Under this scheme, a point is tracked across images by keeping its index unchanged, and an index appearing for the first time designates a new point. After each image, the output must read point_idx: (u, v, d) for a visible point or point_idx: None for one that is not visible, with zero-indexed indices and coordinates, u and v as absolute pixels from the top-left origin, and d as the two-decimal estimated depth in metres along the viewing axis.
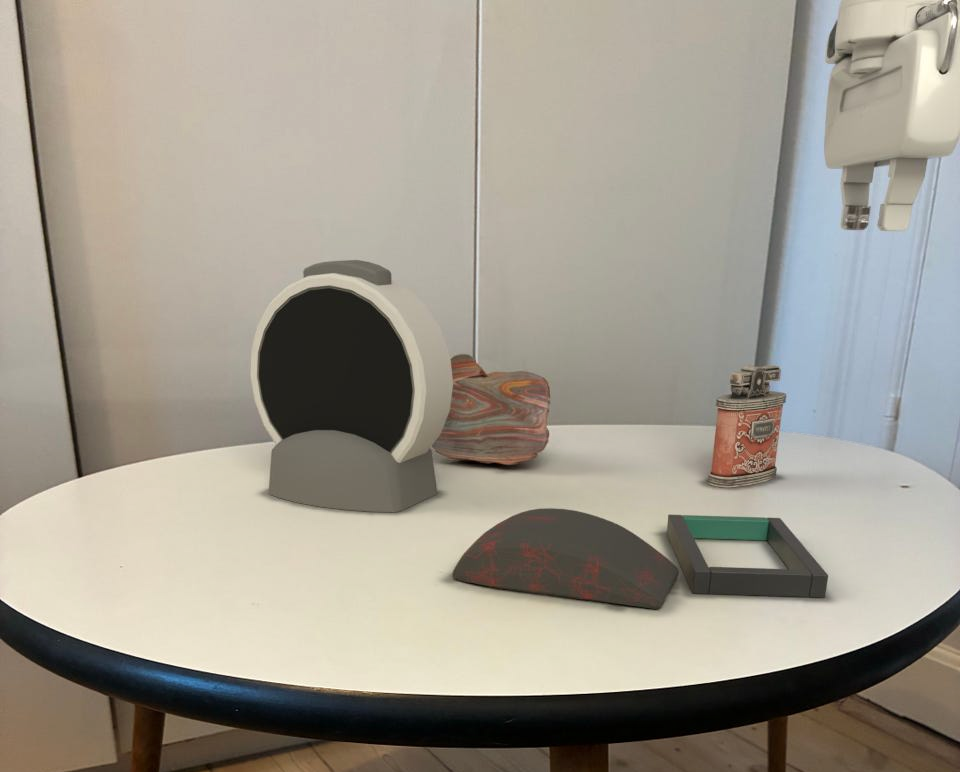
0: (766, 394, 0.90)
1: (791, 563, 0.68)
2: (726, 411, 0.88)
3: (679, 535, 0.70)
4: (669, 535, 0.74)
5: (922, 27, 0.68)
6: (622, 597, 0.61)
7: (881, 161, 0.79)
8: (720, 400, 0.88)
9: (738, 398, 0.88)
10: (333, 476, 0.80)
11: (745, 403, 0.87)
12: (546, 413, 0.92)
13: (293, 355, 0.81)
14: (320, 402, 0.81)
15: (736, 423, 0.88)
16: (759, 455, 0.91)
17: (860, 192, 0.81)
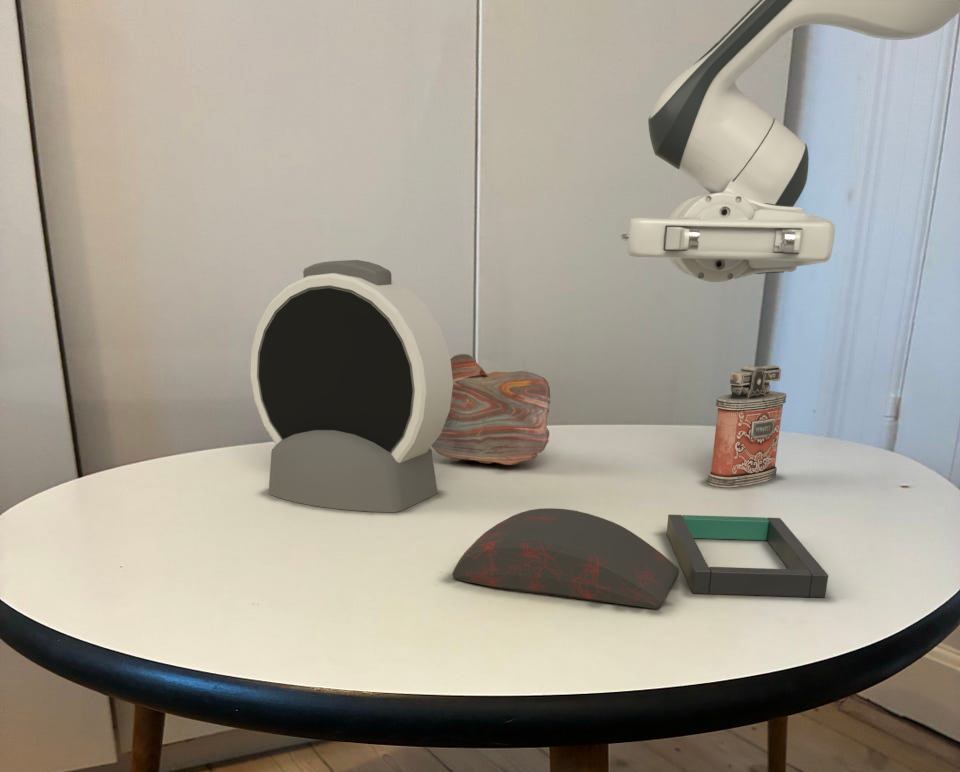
0: (766, 394, 0.90)
1: (791, 563, 0.68)
2: (726, 411, 0.88)
3: (679, 535, 0.70)
4: (669, 535, 0.74)
5: None
6: (622, 597, 0.61)
7: (773, 227, 1.00)
8: (720, 400, 0.88)
9: (738, 398, 0.88)
10: (333, 476, 0.80)
11: (745, 403, 0.87)
12: (546, 413, 0.92)
13: (293, 355, 0.81)
14: (320, 402, 0.81)
15: (736, 423, 0.88)
16: (759, 455, 0.91)
17: None
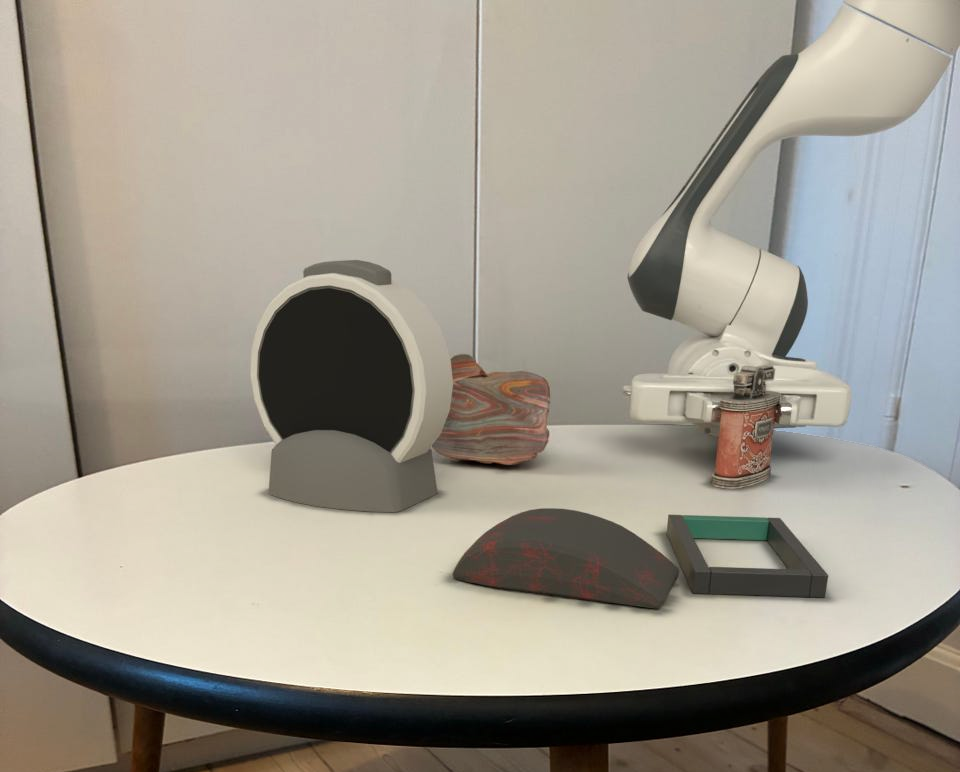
0: (763, 394, 0.90)
1: (791, 563, 0.68)
2: (732, 412, 0.87)
3: (679, 535, 0.70)
4: (669, 535, 0.74)
5: None
6: (622, 597, 0.61)
7: None
8: (726, 401, 0.87)
9: (742, 399, 0.88)
10: (333, 476, 0.80)
11: (750, 403, 0.87)
12: (546, 413, 0.92)
13: (293, 355, 0.81)
14: (320, 402, 0.81)
15: (742, 424, 0.88)
16: (760, 455, 0.91)
17: None
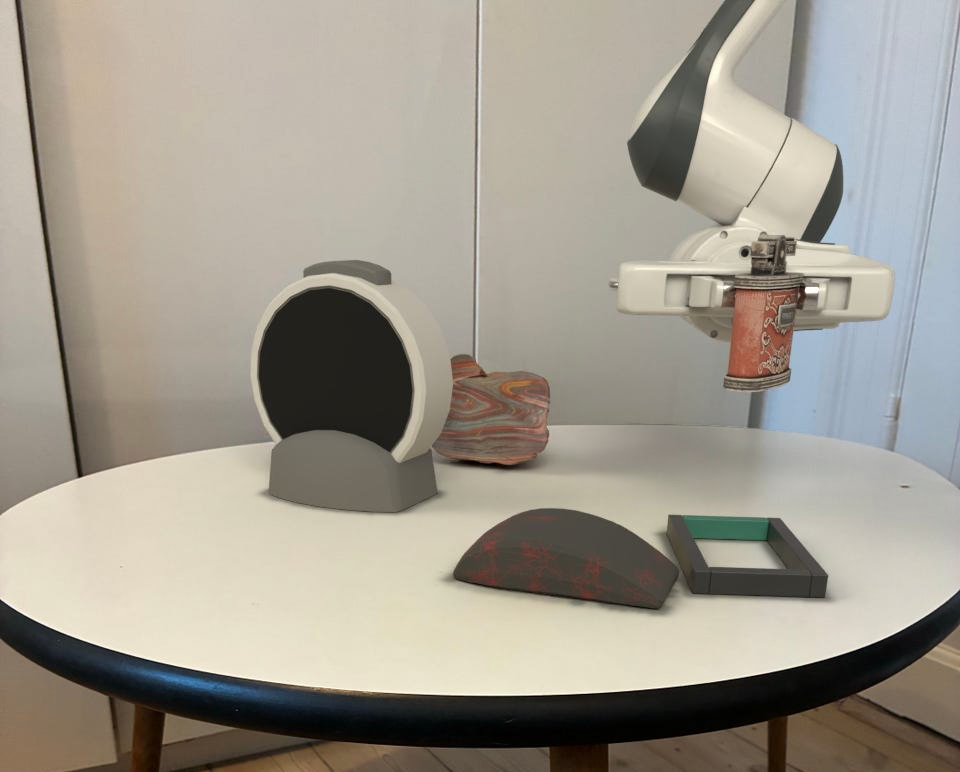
0: None
1: (791, 563, 0.68)
2: (751, 291, 0.68)
3: (679, 535, 0.70)
4: (669, 535, 0.74)
5: None
6: (623, 597, 0.61)
7: (812, 276, 0.74)
8: (743, 277, 0.68)
9: (762, 275, 0.69)
10: (333, 476, 0.80)
11: (774, 279, 0.68)
12: (546, 413, 0.92)
13: (293, 355, 0.81)
14: (320, 402, 0.81)
15: (764, 306, 0.68)
16: (782, 351, 0.72)
17: None
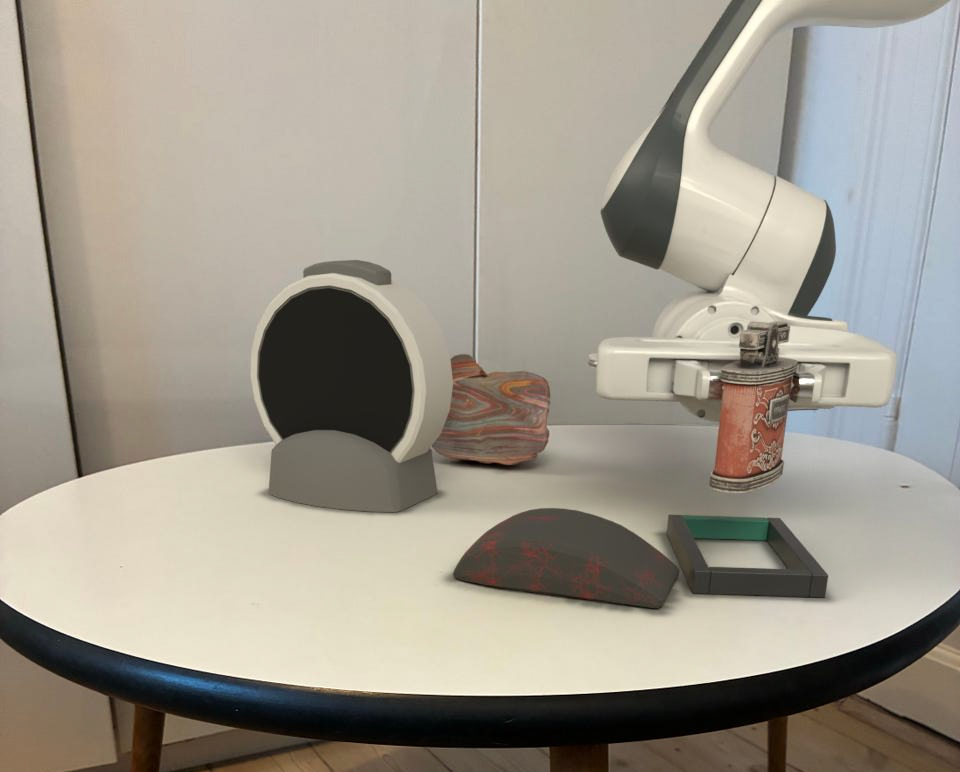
0: None
1: (791, 563, 0.68)
2: (740, 386, 0.62)
3: (679, 535, 0.70)
4: (669, 535, 0.74)
5: None
6: (623, 597, 0.61)
7: None
8: (731, 371, 0.62)
9: (752, 367, 0.63)
10: (332, 476, 0.80)
11: (765, 373, 0.62)
12: (546, 413, 0.92)
13: (293, 355, 0.81)
14: (320, 402, 0.81)
15: (754, 402, 0.63)
16: (773, 446, 0.66)
17: None
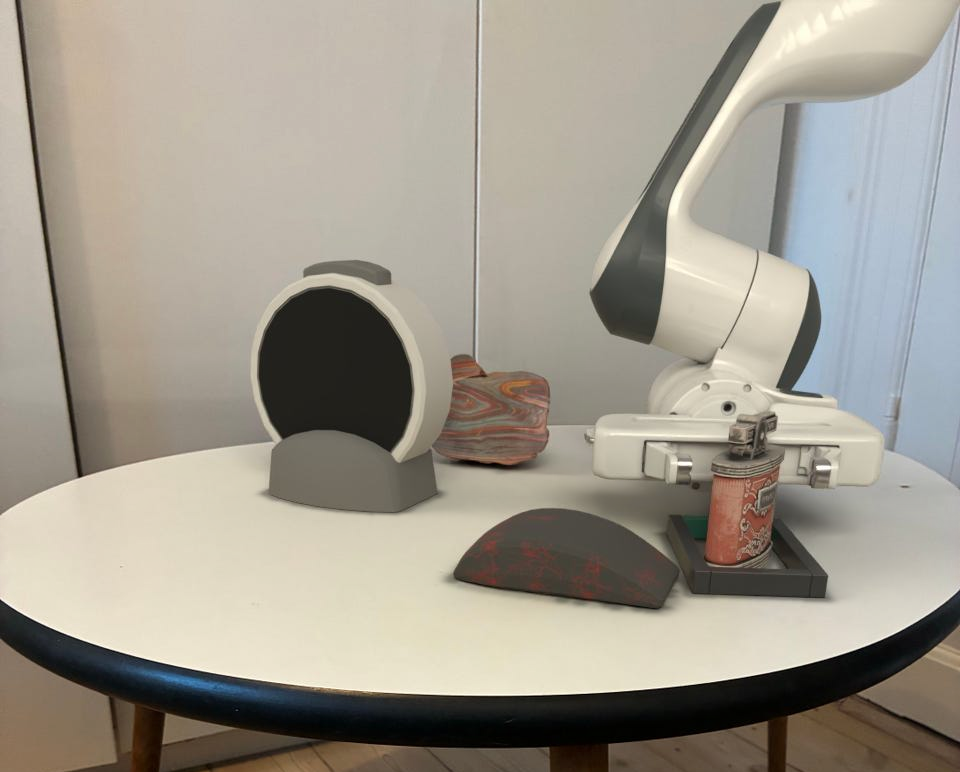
0: (764, 450, 0.68)
1: (791, 563, 0.68)
2: (729, 479, 0.64)
3: (679, 535, 0.70)
4: (669, 535, 0.74)
5: None
6: (623, 596, 0.61)
7: None
8: (720, 465, 0.64)
9: (741, 460, 0.65)
10: (332, 476, 0.80)
11: (753, 467, 0.64)
12: (546, 413, 0.92)
13: (293, 355, 0.81)
14: (320, 402, 0.81)
15: (743, 494, 0.65)
16: (762, 532, 0.68)
17: None
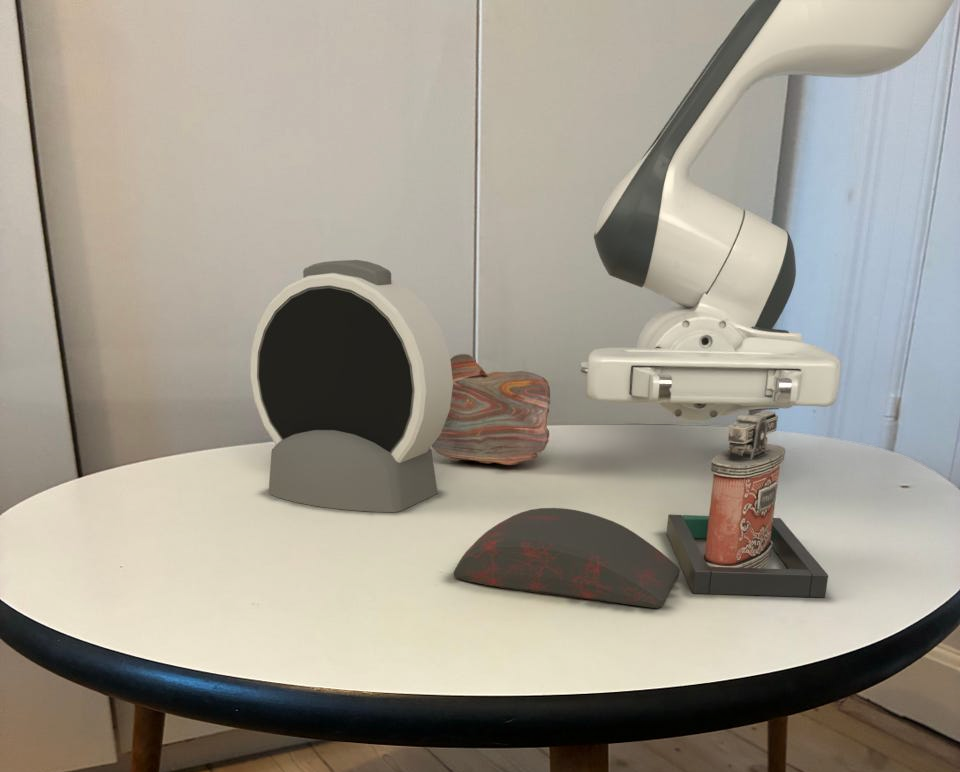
0: (764, 450, 0.68)
1: (791, 563, 0.68)
2: (729, 479, 0.64)
3: (679, 535, 0.70)
4: (669, 535, 0.74)
5: None
6: (623, 596, 0.61)
7: (765, 367, 0.81)
8: (720, 465, 0.64)
9: (741, 460, 0.65)
10: (332, 476, 0.80)
11: (753, 467, 0.64)
12: (546, 413, 0.92)
13: (293, 355, 0.81)
14: (320, 402, 0.81)
15: (743, 494, 0.65)
16: (762, 532, 0.68)
17: None
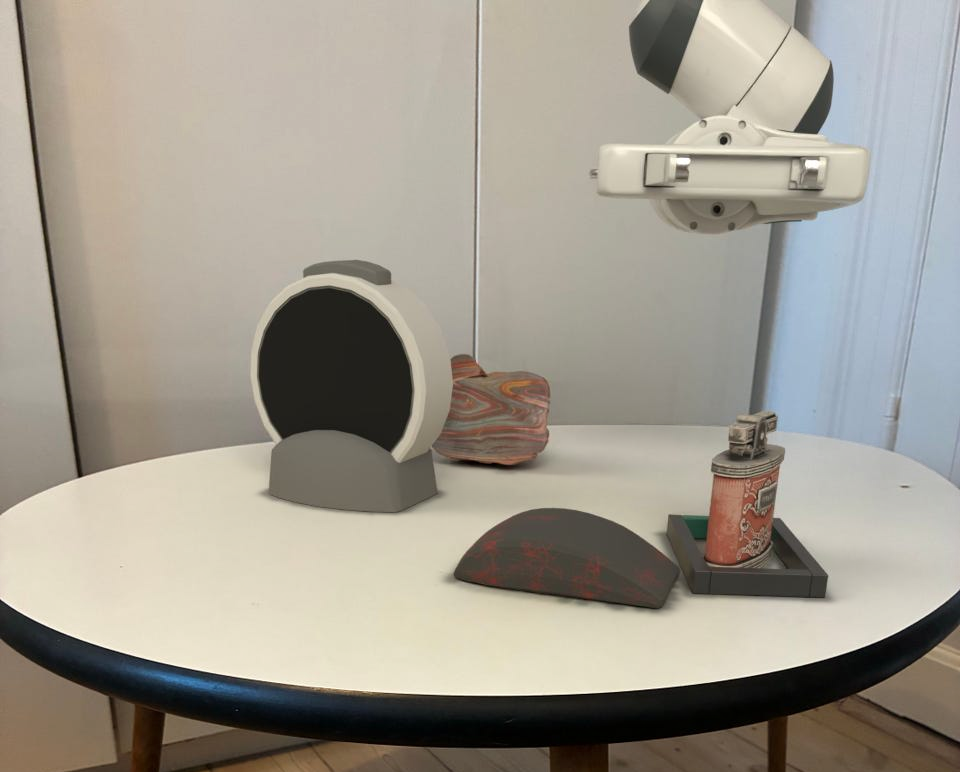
0: (764, 450, 0.68)
1: (791, 563, 0.68)
2: (729, 479, 0.64)
3: (679, 535, 0.70)
4: (669, 535, 0.74)
5: None
6: (623, 596, 0.61)
7: (789, 156, 0.76)
8: (720, 465, 0.64)
9: (741, 460, 0.65)
10: (332, 476, 0.80)
11: (753, 467, 0.64)
12: (546, 413, 0.92)
13: (293, 355, 0.81)
14: (320, 402, 0.81)
15: (743, 494, 0.65)
16: (762, 532, 0.68)
17: None
